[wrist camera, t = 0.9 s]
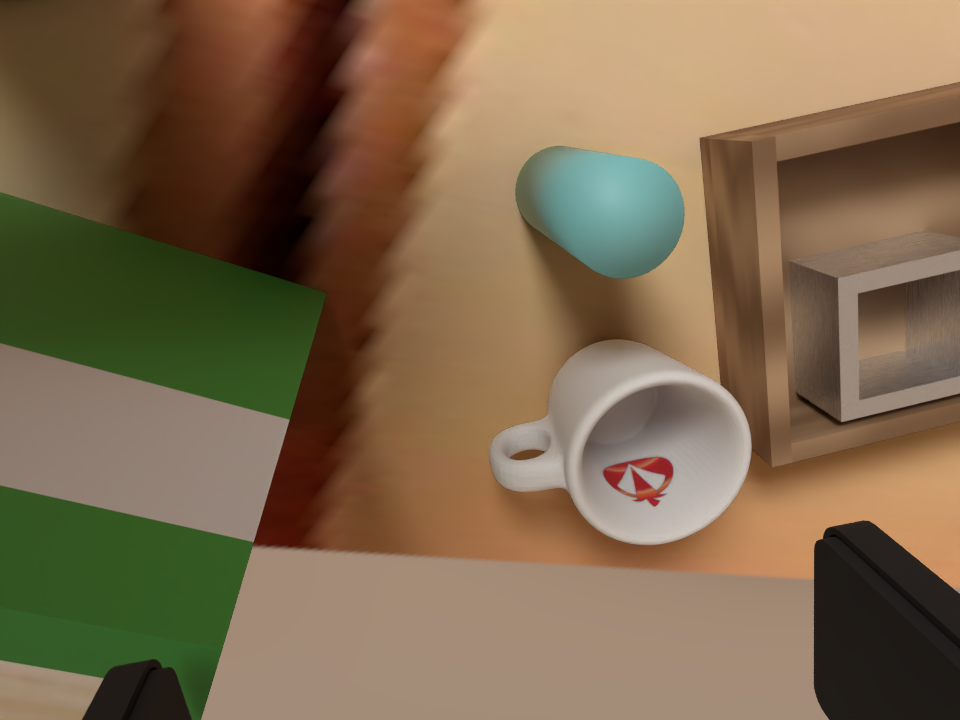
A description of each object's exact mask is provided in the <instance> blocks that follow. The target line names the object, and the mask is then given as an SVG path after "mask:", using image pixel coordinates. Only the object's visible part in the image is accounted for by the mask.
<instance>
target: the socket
mask: <svg viewBox="0 0 960 720" xmlns="http://www.w3.org/2000/svg"><path fill="white" fill-rule="evenodd" d="M789 275H790V295H791V316H792V337H793V358H794V379H795V392H797V393H798V394H800V395H801V396H803V397H804V398H806V399H807V400H809V401H810V402H812V403H813V404H815V405H816V406H818V407H819V408H821V409H822V410H824V411H825V412H827V413H828V414H830V415H831V416H833V417H834V418H836V419H837V420H839V421H840V422H844V421H848V420H852V419H856V418H860V417H865V416H869V415H873V414H877V413H881V412H885V411H889V410H893V409H898V408H902V407H906V406H910V405H914V404H918V403H922V402H926V401H931V400H935V399H939V398H943V397H947V396H951V395H955V394H959V393H960V238H958V237H953V236H948V235H944V234H939V233H934V232H929V231H925V230H923V231H918V232H914V233H909V234H905V235H901V236H896V237H892V238H887V239H883V240H879V241H874V242H870V243H865V244H861V245H857V246H852V247H848V248H843V249H839V250H835V251H830V252H826V253H821V254H817V255H813V256H808V257H804V258H799V259H795V260H791V261H789ZM905 282H906V337H905V349H904V350H900V351H896V352H892V353H887V354H883V355H879V356H875V357H871V358H866V359H862V360H859V346H858V293H862V292H866V291H871V290H875V289H879V288H884V287H888V286H892V285H896V284H901V283H905Z"/></svg>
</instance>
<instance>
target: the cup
mask: <svg viewBox="0 0 960 720" xmlns="http://www.w3.org/2000/svg"><path fill="white" fill-rule="evenodd" d="M751 449H752V444H751V433H750V429H749V425H748V422H747V419H746V416H745V414H744V412H743V410H742V408H741V407H740V405H739V404H738V402H737V401H736V400H735V398H734V397H733V396H732V395H731V394H730V393H729V392H728V391H727V390H726V389H725V388H724V387H722V386H721V385H720V384H719V383H717V382H716V381H714V380H712V379H710V378H709V377H707V376H705V375H703V374H701V373H699V372H697V371H695V370H693V369H692V368H690V367H688V366H686V365H684V364H682V363H680V362H678V361H677V360H675V359H673V358H671V357H669V356H667V355H665V354H663V353H661V352H660V351H658V350H656V349H654V348H652V347H649V346H647V345H645V344H642V343H639V342H635V341H630V340H622V339H613V340H605V341H600V342H597V343H594V344H591V345H589V346H587V347H585V348H583V349H581V350H580V351H578V352H577V353H575V354H574V355H573V356H572V357H570V358H569V359H568V360H567V361H566V362H565V363H564V365H563V366H562V367H561V369H560V370H559V372H558V373H557V375H556V377H555V379H554V381H553V383H552V386H551V389H550V393H549V398H548V412H547V415H546V416H545V417H544V418H542V419H540V420H537V421H533V422H528V423H523V424H519V425H516V426H512V427H510V428H507V429H505V430H503V431H501V432H500V433H498V434H497V435H496V436H495V437H494V438H493V440H492V442H491V445H490V448H489V461H490V466H491V470H492V473H493V475H494V477H495V479H496V480H497V481H498V482H499V483H500V485H502V486H503V487H505V488H507V489H509V490H512V491H517V492H534V491H542V490H547V489H554V488H563V489H565V490H567V491H568V493H569V494H570V496H571V498H572V500H573V502H574V504H575V506H576V508H577V509H578V511H579V512H580V514H581V515H582V516H583V517H584V518H585V519H586V520H587V521H588V523H589V524H590V525H592V526H593V527H594V528H595V529H597V530H598V531H600V532H601V533H603V534H604V535H606V536H608V537H611V538H613V539H615V540H618V541H621V542H625V543H630V544H637V545H658V544H664V543H670V542H673V541H677V540H680V539H683V538H685V537H688V536H690V535H692V534H694V533H696V532H698V531H700V530H701V529H703V528H704V527H706V526H707V525H709V524H710V523H712V522H713V521H714V520H715V519H716V518H718V517H719V516H720V515H721V514H722V513H723V512H724V511H725V510H726V509H727V508H728V506H729V505H730V504H731V503H732V501H733V500H734V499H735V497H736V495H737V494H738V492H739V491H740V489H741V487H742V485H743V483H744V480H745V478H746V475H747V472H748V469H749V465H750V460H751ZM525 450H541V451H545V453H544V454H542V455H540V456H538V457H535V458H532V459H527V460H513V459H510V457H511V456H512V455H514V454H516V453H518V452H521V451H525Z"/></svg>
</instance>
